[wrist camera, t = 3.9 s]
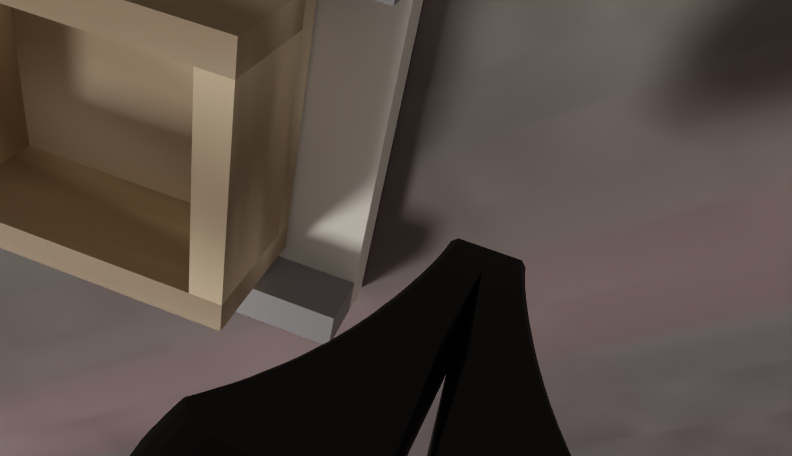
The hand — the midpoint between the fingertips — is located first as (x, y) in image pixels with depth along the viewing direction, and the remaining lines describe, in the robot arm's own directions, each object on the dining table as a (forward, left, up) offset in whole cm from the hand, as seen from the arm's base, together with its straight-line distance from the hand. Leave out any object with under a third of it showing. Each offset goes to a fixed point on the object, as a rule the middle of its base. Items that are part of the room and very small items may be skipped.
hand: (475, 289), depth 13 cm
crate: (0, +9, -3) cm, 10 cm away
